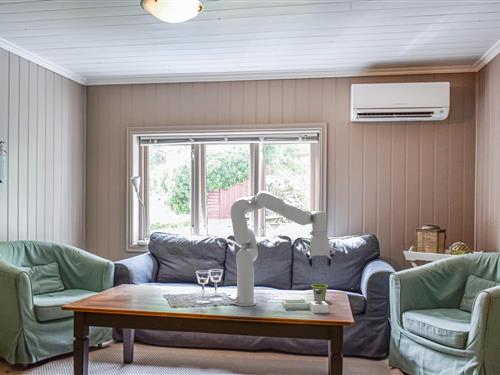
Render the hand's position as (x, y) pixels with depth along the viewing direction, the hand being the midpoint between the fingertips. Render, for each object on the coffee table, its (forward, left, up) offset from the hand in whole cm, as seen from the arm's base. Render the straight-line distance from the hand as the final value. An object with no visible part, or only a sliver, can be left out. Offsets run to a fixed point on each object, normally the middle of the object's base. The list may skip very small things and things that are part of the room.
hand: (319, 266), depth 218 cm
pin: (-1, -2, -23) cm, 23 cm away
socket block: (-1, -2, -23) cm, 23 cm away
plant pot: (+5, +20, -24) cm, 31 cm away
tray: (-12, +6, -23) cm, 27 cm away
